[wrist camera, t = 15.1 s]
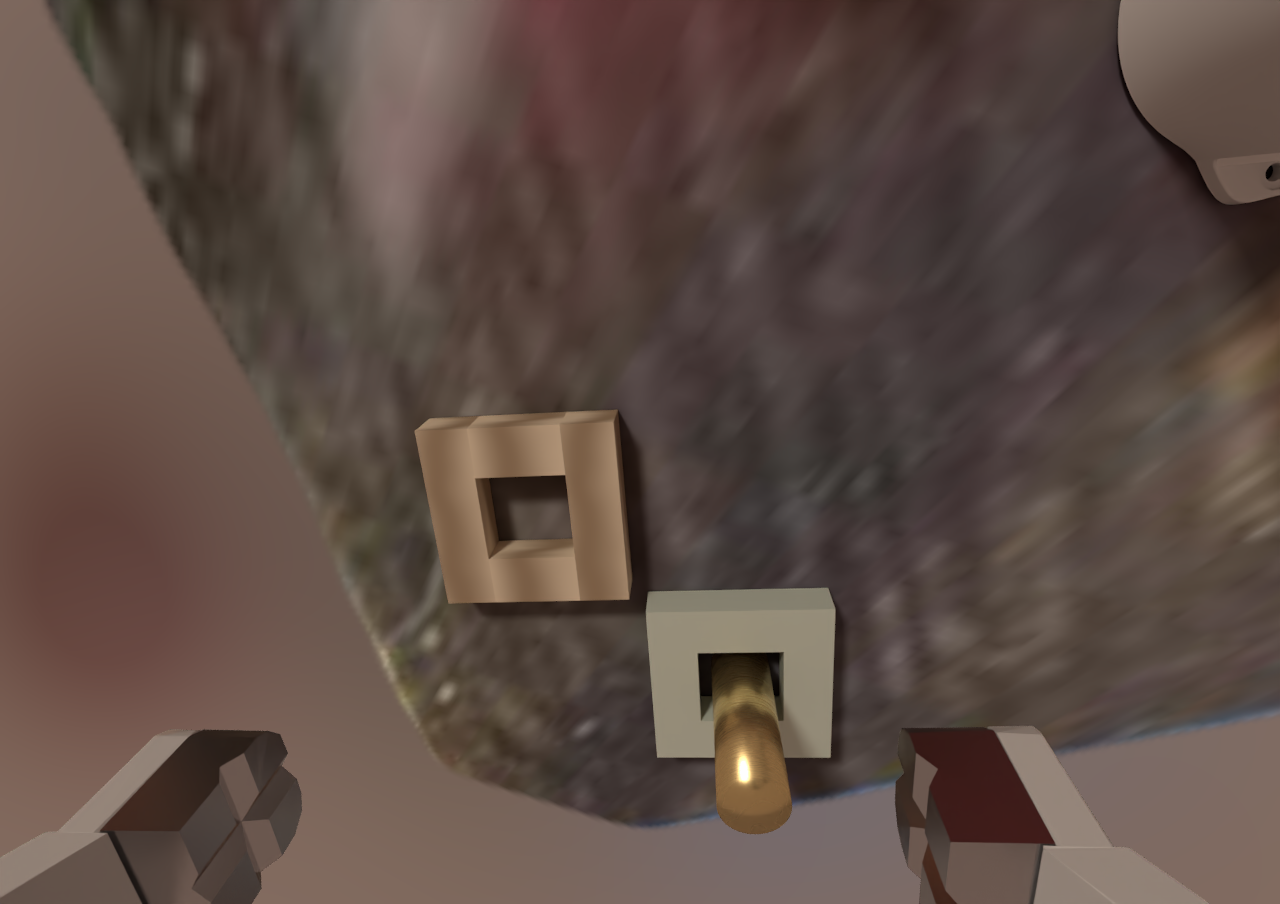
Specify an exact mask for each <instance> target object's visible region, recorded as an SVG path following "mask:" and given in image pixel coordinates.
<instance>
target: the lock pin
mask: <svg viewBox="0 0 1280 904" xmlns="http://www.w3.org/2000/svg"><path fill="white" fill-rule="evenodd" d="M711 674H712V699H713V724H714V749H715V774H716V799H717V811H718V814H719V816H720V818H721V819H722V820H723V821H724V823H725V824H727V825H728V826H729V827H731V828H732V829H734V830H737V831H739V832H743V833H747V834H763V833H768V832H771V831H774V830H776V829H778V828H779V827H780V826H782V825H783V824H784V823H785V822H786V821H787V820H788V818H789V817H790V814H791V811H792V802H791V796H790V790H789V784H788V777H787V771H786V765H785V759H784V753H783V747H782V741H781V735H780V729H779V723H778V717H777V711H776V705H775V698H774V692H773V686H772V680H771V674H770V668H769V662H768V657H767V655H766V653H765V652H756V653H714V654H713V656H712V659H711Z"/></svg>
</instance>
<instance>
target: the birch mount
mask: <svg viewBox="0 0 1280 904" xmlns="http://www.w3.org/2000/svg"><path fill="white" fill-rule="evenodd" d="M415 435H416V440H417V445H418V450H419V456H420V461H421V466H422V471H423V476H424V481H425V486H426V491H427V496H428V501H429V506H430V511H431V517H432V522H433V527H434V532H435V537H436V542H437V547H438V552H439V557H440V562H441V567H442V573H443V578H444V583H445V588H446V593H447V598H448V603H488V602H537V601H586V600H629V598H630V592H631V586H632V567H631V556H630V544H629V532H628V521H627V509H626V497H625V486H624V474H623V463H622V451H621V439H620V428H619V416H618V410H598V411H576V412H555V413H534V414H513V415H492V416H470V417H449V418H430V419H429V420H427V421H426V422H425V423H424V424H423V425H421V426H420V427H419V428H418V429H417V430H415ZM551 475H565V477H566V485H567V494H568V502H569V511H570V519H571V527H572V536H573V539H544V540H510V541H499V537H498V531H497V525H496V518H495V512H494V506H493V500H492V493H491V487H490V481H489V478H499V477H525V476H551Z"/></svg>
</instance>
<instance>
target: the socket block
mask: <svg viewBox="0 0 1280 904" xmlns="http://www.w3.org/2000/svg"><path fill="white" fill-rule="evenodd" d="M646 621H647V634H648V647H649V659H650V672H651V684H652V697H653V709H654V722H655V734H656V747H657V757H699V758H715V749H714V724H713V699H712V696H701V695H700V675H699V655H698V653H756V652H779V696H774V698H775V705H776V711H777V717H778V723H779V729H780V735H781V741H782V747H783V753H784V758H831V728H832V698H833V668H834V638H835V606H834V603H833V601H832V598H831V595H830V592H829V589H828V588H795V589H748V590H702V591H655V592H648V598H647V607H646Z"/></svg>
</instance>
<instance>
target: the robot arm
mask: <svg viewBox="0 0 1280 904" xmlns="http://www.w3.org/2000/svg"><path fill="white" fill-rule="evenodd" d="M1118 47H1119V57H1120V63H1121V68H1122V72H1123V76H1124V79H1125V82H1126V85H1127V88H1128V90H1129V92H1130V95H1131V97H1132V99H1133V101H1134V102H1135V104H1136V106H1137V108H1138V109H1139V110H1140V112H1141V113H1142V115H1143V116H1144V117H1145V119H1146V120H1147V121H1148V122H1149V123H1150V124H1151V125H1152V126H1153V127H1154V128H1155V129H1156V130H1157V131H1158V132H1159V133H1160V134H1162V135H1163V136H1164V137H1166V138H1167V139H1168V140H1170V141H1171V142H1173V143H1174V144H1176V145H1177V146H1179V147H1180V148H1182V149H1183V150H1184V151H1186V152H1187V153H1188V154H1189V155H1190V156H1191V157H1192V158H1193V159H1194V160H1195V161H1196V164H1197V166H1198V168H1199V170H1200V173H1201V175H1202V177H1203V179H1204V181H1205V183H1206V185H1207V187H1208V188H1209V190H1210V192H1211V193H1212V194H1213V196H1214V197H1215V198H1216V199H1217V200H1218V201H1220V202H1221V203H1224V204H1228V205H1235V204H1242V203H1250V202H1254V201H1259V200H1262V199H1266V198H1270V197H1274V196H1278V195H1280V0H1121V3H1120V10H1119V19H1118ZM1271 165H1272V167H1273V173H1272V175H1271V177H1270V178H1269V179H1268V180H1267V179H1266V176H1265V174H1266V170H1267V169H1268V167H1269V166H1271ZM287 754H288V752H287V750H286V747H285V745H284V743H283V740H282V738H281V735H280V734H277V733H274V732H270V731H242V730H168V731H166V732H163V733H161V734H159V735H156V736H154V737H153V738H152V739H151V741H149V742H148V743H147V744H146V745H145V747H143V748H142V749H141V750H140V751H139V752H138V753H137V754H136V755H135V756H134V757H133V758H132V759H131V760H130V761H129V762H128V763H127V764H126V765H125V766H124V767H123V768H122V769H121V770H120V771H119V772H118V773H117V774H116V775H115V776H114V777H113V778H112V779H111V780H110V781H109V782H108V783H107V784H106V785H105V786H104V787H102V789H100V790H99V792H97V793H96V794H95V795H94V796H93V797H92V798H91V799H90V800H89V801H88V802H87V803H86V804H85V805H84V806H83V807H82V808H81V809H80V810H79V811H78V812H77V813H76V814H75V815H74V816H73V817H72V818H71V819H70V820H69V821H68V822H67V823H66V824H65V825H64V826H63V827H62V828H61V829H60V830H59V831H58V832H45V833H43V834H41V835H40V836H38V837H36V838H34V839H32V840H31V841H29V842H27V843H25V844H23V845H22V846H20V847H18V848H16V849H14V850H13V851H11V852H9V853H7V854H5V855H4V856H2V857H0V904H252V903H253V901H254V899H255V898H256V896H257V895H258V893H259V892H260V890H261V871H263V870H264V869H265V868H267V867H268V866H269V865H271V864H272V863H273V862H275V861H276V860H277V859H279V858H280V857H281V856H282V855H283V854H284V852H285V850H286V849H287V847H288V845H289V844H290V842H291V840H292V839H293V837H294V835H295V833H296V829H297V826H298V822H299V819H300V815H301V811H302V800H301V791H300V787H299V784H298V781H297V779H296V778H295V777H294V776H293V775H292V774H291V773H289V772H288V771H287V770H286V769H285V768H284V767H282V764H283V762H284V760H285V758H286V756H287ZM898 756H899V759H900V762H901V765H902V768H903V771H904V774H903V775H902V776H901V777H900V778H899V779H898V780H897V781H896V794H895V806H896V816H897V827H898V831H899V836H900V841H901V845H902V849H903V852H904V856H905V859H906V863H907V866H908V868H910V870H912V871H913V872H914V873H915V874H916V875H917V876H918V877H919V878H920V879H921V885H920V899H919V904H1210V903H1209V902H1207V901H1206V900H1204V899H1203V898H1201V897H1200V896H1198V895H1197V894H1196V893H1194V892H1193V891H1191V890H1190V889H1188V888H1187V887H1185V886H1184V885H1183V884H1181V883H1180V882H1178V881H1177V880H1175V879H1174V878H1173V877H1171V876H1170V875H1168V874H1167V873H1165V872H1164V871H1162V870H1161V869H1160V868H1158V867H1156V866H1155V865H1154V864H1152V863H1151V862H1149V861H1148V860H1146V859H1145V858H1144V857H1142V856H1141V855H1139V854H1137V853H1136V852H1135V851H1134V850H1132V849H1131V848H1125V847H1124V848H1123V847H1114V846H1113V844H1112V843H1111V841H1110V840H1109V838H1108V836H1107V835H1106V833H1105V832H1104V830H1103V829H1102V827H1101V826H1100V824H1099V822H1098V821H1097V819H1096V818H1095V816H1094V815H1093V813H1092V811H1091V810H1090V808H1089V807H1088V805H1087V804H1086V802H1085V801H1084V799H1083V797H1082V796H1081V794H1080V793H1079V791H1078V790H1077V788H1076V786H1075V785H1074V783H1073V782H1072V780H1071V779H1070V777H1069V776H1068V774H1067V773H1066V771H1065V769H1064V768H1063V766H1062V765H1061V763H1060V761H1059V760H1058V758H1057V757H1056V755H1055V754H1054V752H1053V750H1052V749H1051V747H1050V746H1049V744H1048V743H1047V741H1046V740H1045V738H1044V736H1043V735H1042V733H1041V732H1040V731H1039V730H1037V729H1036V728H1034V727H1033V726H999V727H988V728H984V727H958V728H902V729H901V732H900V735H899V741H898Z"/></svg>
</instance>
